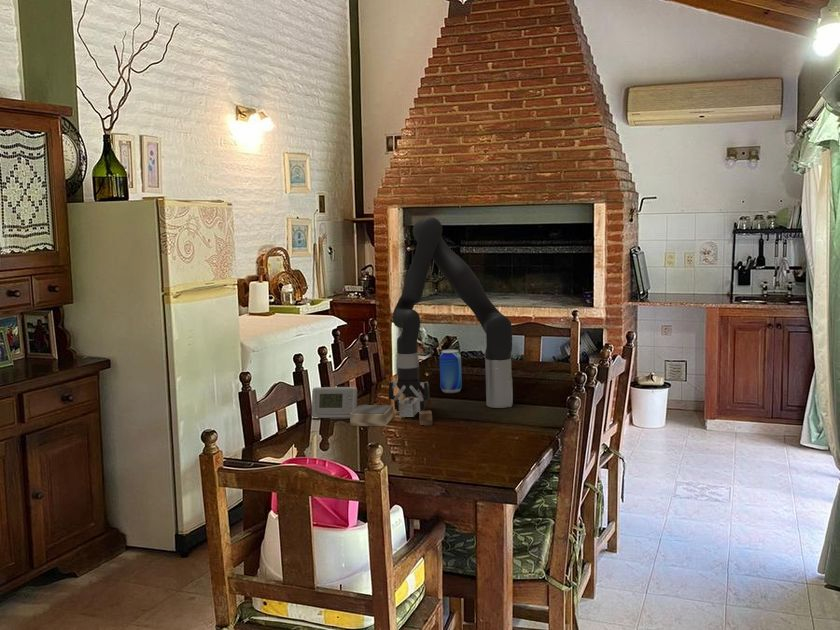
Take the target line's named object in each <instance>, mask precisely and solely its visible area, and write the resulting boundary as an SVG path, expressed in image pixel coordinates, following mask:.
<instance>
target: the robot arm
mask: <svg viewBox="0 0 840 630" xmlns="http://www.w3.org/2000/svg"><path fill="white" fill-rule="evenodd" d="M412 235H413V238H414V240H415V242H416V247H415V248H416V249H415V250H414V251H415V253H414V255H413V258H412V261H411V264H410V267H409V269H408V271H407V274H406V277H405V280H404V284H403V288H402V291H401V296H400V297H399V298H398V300H397V303H396V305H395V307H394V309H393V312H392V323H393V324H394V326H396V328H399V329H402V332H401V335H400V336H398V337H397V340H396V346H397V347H396V349H397V350H396V351H397V352H396V353H397V354H396V355H397V357H396V369H397V381H393V380H391V381H389V383H388V400H392V401H393V402H394V405H393V408H394V410H395V411H396V412H399V403H400V397H401V396H402V394H404V396H405V395H410V396H411V395H415V396H416V398H419V399H420V411H425V409H426V400H429V399H430V397H431V394H430V386H429V385H430V384H429V381H427V380H426V381H424V382H423V381H421V380H420V365H419V364H420V363H419V362H420V361H419V359H420V358H419V354H418V338H419V335H420V334H419V333H420V329H421V328H420V327H421V317H420V314H419V313H418V311H416V309H414V307H415V305H416V304H420V302H421V300H422V298H423V293H424V290H425V287H426V286H425V285H426V282H427V277H428V273H429V270H430V266H431V262H432V260H433V261H434V263H435V265H436V267H437V268H438V270H440V273H441V274H442V276H444V278H445V280H446V282H447V283H448V285H449V286H450V287H451V288H452V289H453V291H454V292H455V293H456V295H457V297H459V298H460V299H461V300H462V301H463V302H464V304H466V305H467V307H468V308H469V309H470V311H472V314H474V316H475V318H476V319H477V320H478V322H479V324H480V326H481V328H482V329H483V331H484V333H485V337H486V338H485V340H486V342H485V343H486V344H485V345H486V347H485V351H484V361H485V362H484V363H485V364H484V365H485V395H486V398H485V399H486V400H485V401H486V406H487V407H489V408H494V409H502V408H503V409H505V408H512V406H513V403H514V401H513V400H514V398H513V397H514V396H513V391H514V390H513V377H512V352H513V326H512V323H511V320H510V319H509V318H508V317H507V316H505V315H504V314H502V312H501V311H499V309H498V308H497V307H496V306H495V305H494V304H493V302H492V301H491V300H490V299H489V297H488V296H487V293H486V292H485V290H484V287H483V285H482V284H481V282H480V280H479V279H478V277H477V275H476V274H475V273H474V271H473V270H472V268H471V267H470V266H469V264H468V263H467V262H466V261H464V259H463V258H461V257H460V256H459V255H458V254H457V253H456V252H454V251H453V250H452V249H451V248H450V247H449V246H448V245H447V243H446V241H445V240H444V239H443V237H442V235H443V225H442V223H441V221H440V220H439V219H437V218H436V217H434V216H427V217H424V218H421V219H420V220H417V221H416V222H415V223H414V225H413V226H412ZM396 387H397V388H398V392H397V393H396V395H394V394H395V393H394V391H395V390H394V389H395V388H396ZM420 387H422V389H424V390H423V391H424V393H422V391H421V390H420V389H419V388H420ZM423 394H424V395H423Z"/></svg>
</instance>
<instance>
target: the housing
mask: <svg viewBox="0 0 840 630" xmlns="http://www.w3.org/2000/svg"><path fill="white" fill-rule="evenodd" d="M420 401H421V400H420V399H419V398H418V397H414V396H410V397H409V396H408V397H405V398H404V399H402V400H401V401H399V411H398V412H399V416H398V417H399V418H405V417H414V416H415V415H416V414H417V413H418V412H419V411H420ZM418 414H419V413H418ZM418 414H417V415H418ZM417 415H416V416H417ZM416 416H415V417H416ZM415 417H414V418H415Z"/></svg>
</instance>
